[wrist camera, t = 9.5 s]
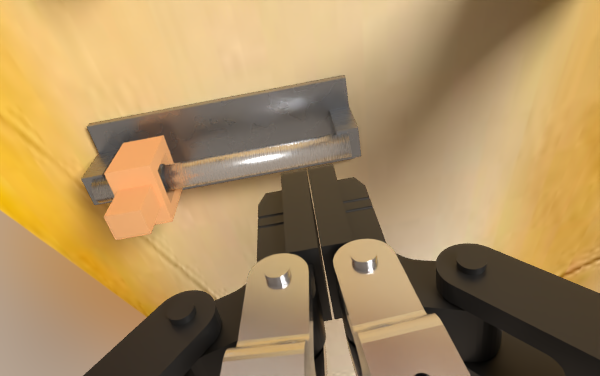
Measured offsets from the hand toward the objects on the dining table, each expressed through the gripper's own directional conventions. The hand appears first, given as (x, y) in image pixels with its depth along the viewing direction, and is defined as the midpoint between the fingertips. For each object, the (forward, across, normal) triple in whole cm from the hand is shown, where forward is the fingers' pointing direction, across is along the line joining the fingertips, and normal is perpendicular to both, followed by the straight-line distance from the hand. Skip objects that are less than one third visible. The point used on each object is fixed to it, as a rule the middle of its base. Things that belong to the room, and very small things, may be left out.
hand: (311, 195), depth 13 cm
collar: (+29, +15, +12) cm, 35 cm away
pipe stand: (+32, +8, +12) cm, 35 cm away
